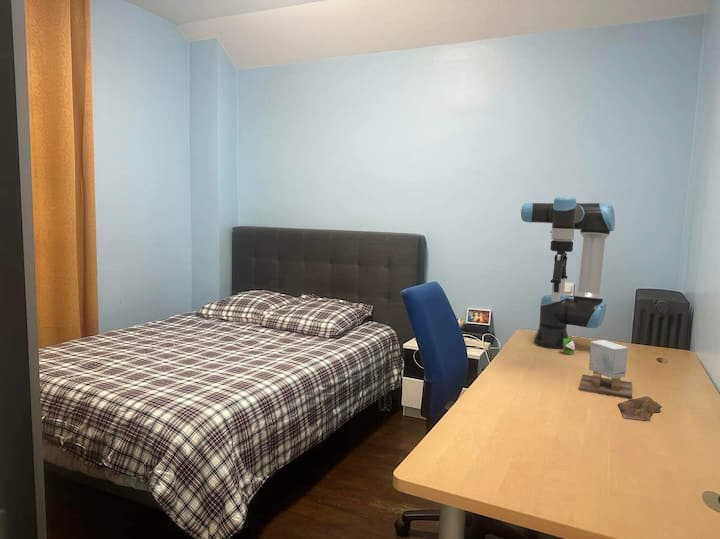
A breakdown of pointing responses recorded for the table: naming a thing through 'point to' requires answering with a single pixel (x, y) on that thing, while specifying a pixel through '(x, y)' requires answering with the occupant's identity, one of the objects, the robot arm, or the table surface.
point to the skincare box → (608, 359)
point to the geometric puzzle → (568, 345)
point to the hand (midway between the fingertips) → (557, 298)
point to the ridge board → (606, 386)
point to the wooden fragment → (639, 408)
